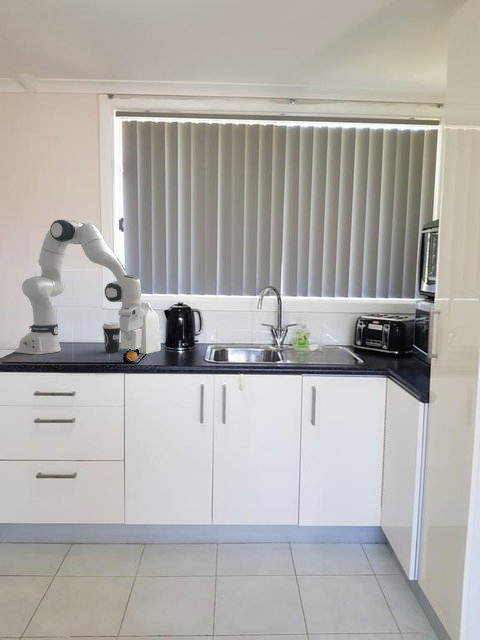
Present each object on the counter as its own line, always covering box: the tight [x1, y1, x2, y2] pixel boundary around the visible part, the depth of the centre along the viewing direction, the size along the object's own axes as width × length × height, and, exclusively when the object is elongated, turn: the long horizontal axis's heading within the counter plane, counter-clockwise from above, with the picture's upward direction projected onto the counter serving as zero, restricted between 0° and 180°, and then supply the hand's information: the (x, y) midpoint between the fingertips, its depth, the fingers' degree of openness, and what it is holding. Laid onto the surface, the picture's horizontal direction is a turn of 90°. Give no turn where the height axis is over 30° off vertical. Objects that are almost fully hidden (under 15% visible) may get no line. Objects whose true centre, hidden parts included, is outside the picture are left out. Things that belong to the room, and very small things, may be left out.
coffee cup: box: [101, 321, 121, 354], centre depth 240 cm, size 10×10×15 cm
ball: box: [126, 351, 138, 362], centre depth 218 cm, size 5×5×5 cm
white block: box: [120, 329, 142, 350], centre depth 217 cm, size 7×7×9 cm
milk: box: [138, 301, 162, 355], centre depth 243 cm, size 12×12×26 cm
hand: (132, 338), depth 217 cm, fingers closed on white block, 7 cm apart
